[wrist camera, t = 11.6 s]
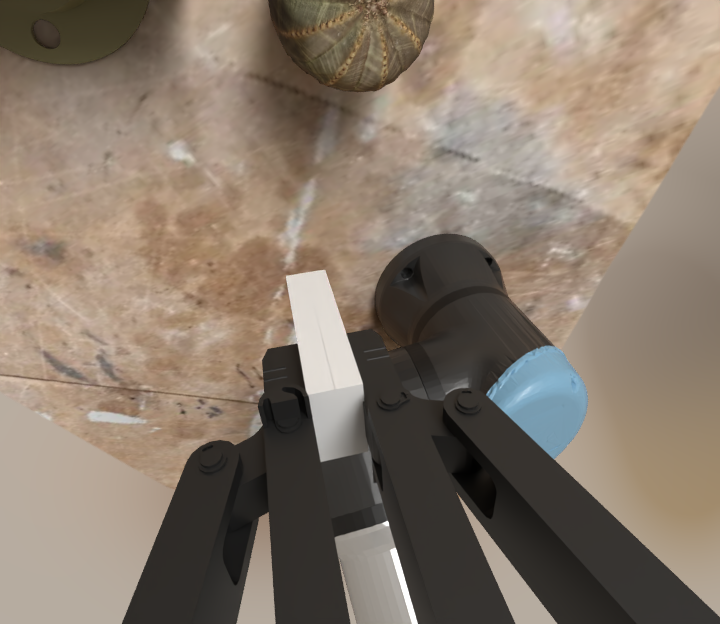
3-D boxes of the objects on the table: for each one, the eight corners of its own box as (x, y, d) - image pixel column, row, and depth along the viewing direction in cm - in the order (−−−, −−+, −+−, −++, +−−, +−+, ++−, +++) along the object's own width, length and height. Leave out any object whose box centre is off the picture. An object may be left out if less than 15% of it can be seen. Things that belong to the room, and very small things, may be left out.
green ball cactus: (298, 98, 40) (318, 128, 30) (239, -55, 33) (239, -78, 24) (412, 49, 40) (469, 65, 30) (375, -113, 33) (433, -161, 24)
